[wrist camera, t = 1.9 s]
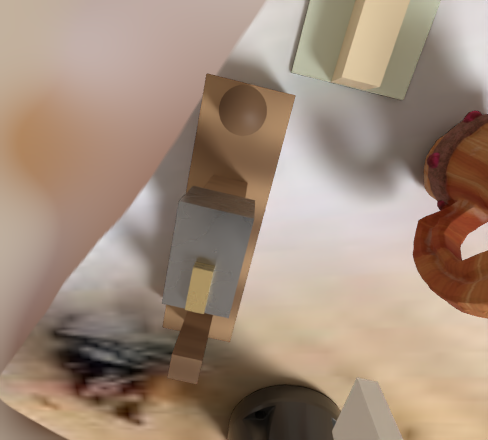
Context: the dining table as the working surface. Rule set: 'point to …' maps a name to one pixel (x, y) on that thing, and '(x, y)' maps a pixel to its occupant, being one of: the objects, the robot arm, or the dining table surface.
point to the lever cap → (208, 251)
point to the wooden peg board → (229, 191)
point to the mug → (456, 216)
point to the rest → (364, 43)
